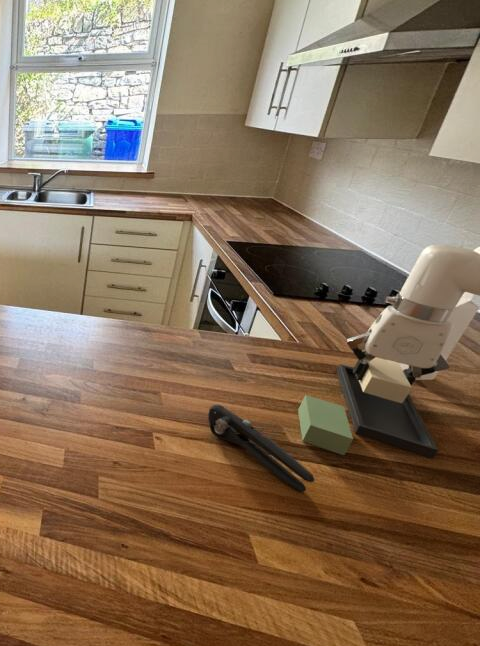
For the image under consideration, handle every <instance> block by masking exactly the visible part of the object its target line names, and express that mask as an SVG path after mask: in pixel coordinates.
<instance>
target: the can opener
mask: <svg viewBox="0 0 480 646" xmlns="http://www.w3.org/2000/svg"><path fill="white" fill-rule="evenodd" d="M207 413H208V415H207V418H208V422H209V429H210V431H211V433H212V435H214V437H216V438H218V439H220V440H224V441H228V442H231V443H234V444H236V445H238V446H240V447H241V448H243V449H244V450H245V451H246V452H248V453H249V454H250V455H251V456H252V457H254V458H255V459H256V460H257V461H258V462H259V463H260V464H262V465H263V466H264V467H265V468H266V469H267V470H268V471H269V472H271V474H274V476H276V477H277V478H278V479H280V480H281V481H282V482H284V483H285V484H286V485H288V486H290V487H291V488H293V490H296V491H297V492H304V493H305V492H306V490H307V487H306V485H305V484H304V483H303V482H302V481H301V480H304V481H305V482H308V483H314V482H315V478H314V476H313V474H312V472H310V471H309V470H308V469H307V468H306V467H305V466H304V465H302V464H301V463H300V462H299V461H298V460H297V459H295V458H294V457H293V456H292V455H291V454H289V453H288V452H287V451H286V450H284V449H283V448H282V447H281V446H279V445H278V444H277V443H276V442H275V441H273V440H272V439H270V438H269V437H268V436H267V435H265V434H264V433H263V432H261V431H260V430H259V429H257V428H256V427H254V426H252V424H253V423H252V422H251V421H249V420H247V419H243V418H242V417H240V416H238V415H237V414H236V413H233V412H232V411H231V410H230V409H228V408H226V407H224V406H223V405H221V404H213V405H212V406H210V407H209V410H208V412H207ZM279 462H280V463H279ZM282 464H283V465H284V466H285V467H284V466H283V465H282ZM286 467H287V468H286ZM288 469H289V470H291V471H292V472H293V473H295V474H296V475H297V476H298V477H300V478H301V480H300V479H298V477H297V476H295V475H294V474H293V473H292V472H291V471H289V470H288Z"/></svg>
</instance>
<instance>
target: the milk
mask: <svg viewBox="0 0 480 646" xmlns="http://www.w3.org/2000/svg"><path fill="white" fill-rule="evenodd" d="M475 296H476V295H475V294H472V293H468V292H464V294H463V295H462V297H461V299H460V300H459V302H458V303H457V305H456V307H455V308H454V310H453V311H452V313H451V315H450V316H449V318H448V319H447V320H448V321H449V322H451V323H452V326H451V330H450V333H449V336H448V339H447V341H446V344H445V346H444V348H443V350H442V352H441V355H442V357H443V358H444V359H445V361H446V362H447V360H448V358H449V357H450V355H451V354H452V352H453V350H455V347H456V346H457V344H458V343H459V341H460V339H461V338H462V337H463V335H464V333H465V332H466V330H467V328H468V327H469V325H470V324H471V322H472V321H473V319H474V318H475V316H476V314H477V313H478V312H479V310H480V306H478V305H477V304H476V303H475V302H474V301H473V300H474V298H475ZM389 361H390V360H389ZM393 362H394V361H393ZM397 363H398V362H397ZM399 365H400V367H401V369H402V370H405V369H408V368H409V365H406V364H402V363H399ZM439 372H440V371H435V372H434V373H430V374H426V375H422V376H421V377H420V378H416V379H415V380H414V381H432V380H435V378H437V376H438V374H439Z"/></svg>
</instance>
